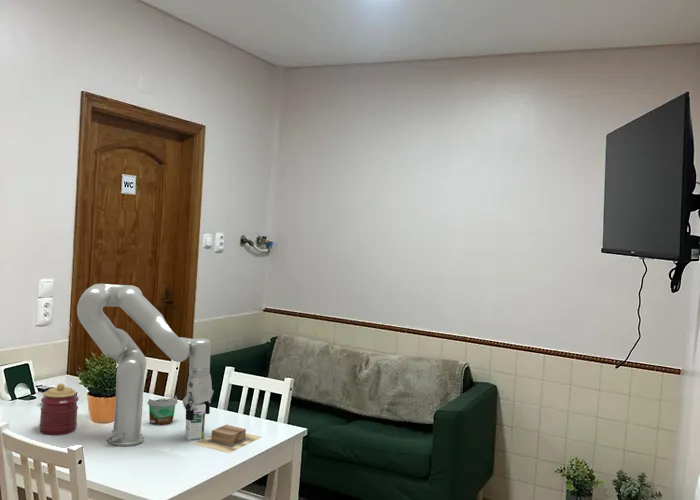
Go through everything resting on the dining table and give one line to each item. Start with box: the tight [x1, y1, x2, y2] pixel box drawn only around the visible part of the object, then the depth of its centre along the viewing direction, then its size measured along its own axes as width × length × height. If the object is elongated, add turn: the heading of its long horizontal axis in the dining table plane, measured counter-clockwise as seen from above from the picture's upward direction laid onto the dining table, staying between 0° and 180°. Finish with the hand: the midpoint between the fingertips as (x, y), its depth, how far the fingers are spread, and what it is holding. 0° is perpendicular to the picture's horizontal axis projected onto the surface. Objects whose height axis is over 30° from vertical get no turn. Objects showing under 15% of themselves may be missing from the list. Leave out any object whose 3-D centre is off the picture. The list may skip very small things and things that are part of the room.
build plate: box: [192, 433, 262, 454], centre depth 242 cm, size 22×16×2 cm
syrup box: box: [184, 402, 206, 441], centre depth 242 cm, size 6×6×14 cm
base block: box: [211, 424, 247, 446], centre depth 242 cm, size 9×9×4 cm
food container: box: [147, 395, 178, 426], centre depth 260 cm, size 12×6×10 cm, turn 131°
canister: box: [38, 383, 79, 436], centre depth 242 cm, size 13×13×18 cm
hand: (197, 416), depth 242 cm, fingers open, 9 cm apart
